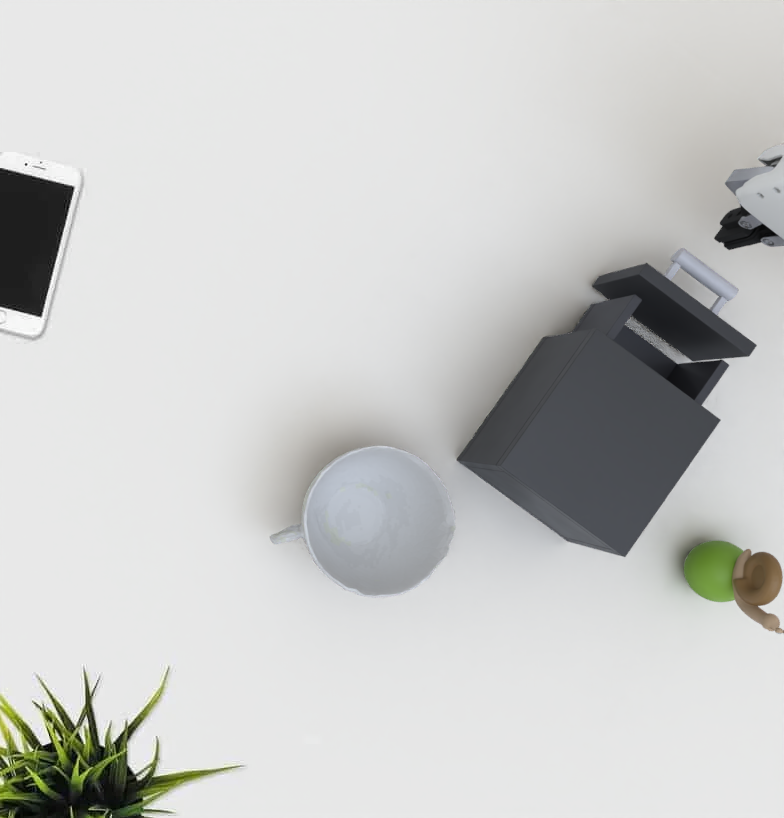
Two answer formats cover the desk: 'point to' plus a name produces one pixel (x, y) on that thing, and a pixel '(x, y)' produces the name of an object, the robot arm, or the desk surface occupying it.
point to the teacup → (375, 521)
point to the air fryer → (589, 440)
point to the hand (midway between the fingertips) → (730, 230)
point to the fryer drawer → (670, 321)
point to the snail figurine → (736, 578)
